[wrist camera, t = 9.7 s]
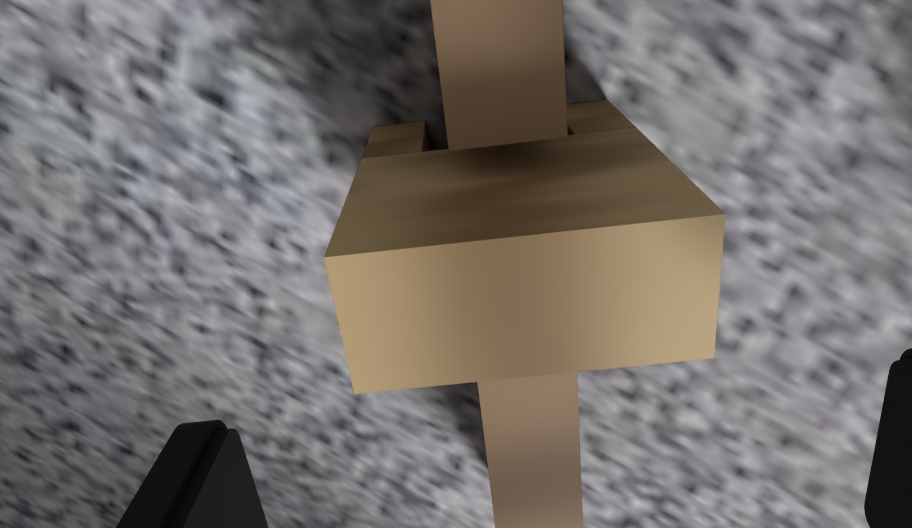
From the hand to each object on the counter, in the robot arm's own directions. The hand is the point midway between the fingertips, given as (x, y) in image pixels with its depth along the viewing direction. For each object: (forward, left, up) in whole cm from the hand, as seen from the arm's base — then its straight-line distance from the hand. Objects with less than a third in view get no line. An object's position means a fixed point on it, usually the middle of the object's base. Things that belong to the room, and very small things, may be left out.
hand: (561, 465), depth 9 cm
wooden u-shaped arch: (+1, 0, -12) cm, 12 cm away
